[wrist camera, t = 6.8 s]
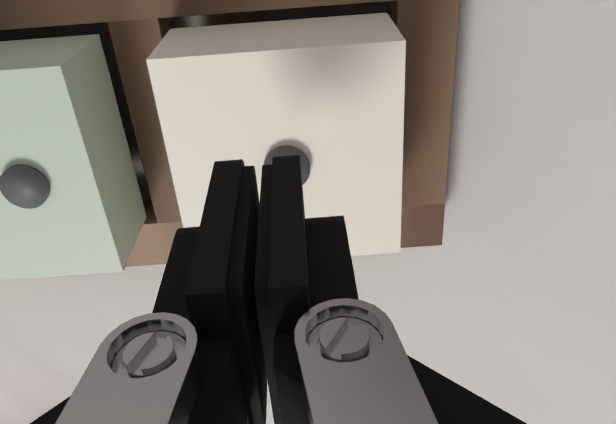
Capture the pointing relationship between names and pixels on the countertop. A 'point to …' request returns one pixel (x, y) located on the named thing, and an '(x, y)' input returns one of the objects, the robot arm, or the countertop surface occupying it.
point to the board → (175, 3)
